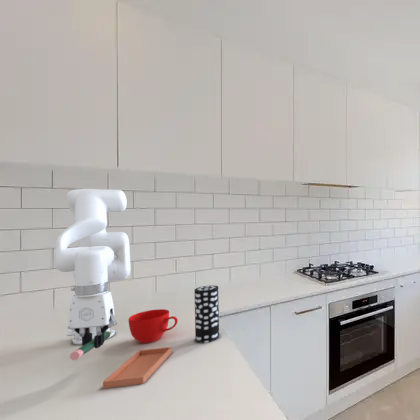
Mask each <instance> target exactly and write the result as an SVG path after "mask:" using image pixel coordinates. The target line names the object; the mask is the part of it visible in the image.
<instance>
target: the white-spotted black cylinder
mask: <svg viewBox="0 0 420 420" xmlns="http://www.w3.org/2000/svg"><path fill="white" fill-rule="evenodd" d="M219 295H220V294H219V286H218V285H203V286H199V287H196V288H194V331H195V332H194V333H195V334H194V335H195V336H194V337H195V338H194V339H195V342H196V343H198V344H206V343H211V342H213V341H216V340H218V339H219V338H220V307H219V306H220V305H219V304H220V302H219V300H220V297H219Z"/></svg>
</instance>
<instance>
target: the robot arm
mask: <svg viewBox="0 0 420 420" xmlns="http://www.w3.org/2000/svg"><path fill="white" fill-rule="evenodd" d="M66 201H67V205H68V208H69V209H70V211H71V213H72V215H73V217H74V223H73V224H71V225H70V226H68V227H67V228H66V229H64V230H63V231H62V232H61V233H60V234H59V236H58V237H57V239H56V241H55V243H54V244H55V245H54V256H53V257H54V258H53V263H54V267H55V269H56V270H57V271H59V272H62V273H68V272H69V273H71V272H72V275H73V279H74V285H73V286H71V287H70V290H71V292H74V294H73V295H72V296H71V298H70V302H69V307H68V308H69V309H68V322H67V323H68V326H67V329H68V330H67V333H66V337H72V336H73V337H74V338H73V339H72V344H74V345H79V346H81V347H82V346H83V345H85V344H86V343H88V342H89V341H91V340H92V339H94V342H95V347H94V349H99V348H100V347H102V346H103V345H104V343H105V340H104V332H106V331H111V334H110V337H109V338H107V339H106V340H108V339H110V338H111V337H113V336H114V335H115V334H116V331H115V329H112V327H114V326H116V325H117V324H118V321H117V320H116V317H115V306H114V299H113V296H112V293H111V291H110V290H109V282H116V281H122V280H126V279H128V278H130V276H131V271H132V268H131V247H130V239H129V235H128V234H127V233H126V232H123V231H107V230H106V228H107V226H108V217H107V215H108V213H122V212H124V211H125V210H126V209H127V205H128V201H127V196H126V193H125V192H124V191H123V190H122V189H111V188H109V189H108V188H107V189H104V188H76V189H72V190H69V191H68V192H67V194H66ZM75 242H77V247H69V246H70V245H71V244H73V243H75Z"/></svg>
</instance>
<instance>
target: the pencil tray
mask: <svg viewBox="0 0 420 420" xmlns="http://www.w3.org/2000/svg"><path fill="white" fill-rule="evenodd" d="M172 353H173V347H172V346H168V347H158V348H148V349H147V348H146V349H139V350H138V351H137V352H136V353H134V354H133V355H132V356H131V357H130V358H129V359H127V360H126V361H125V362H124V363H123V364H122V365H120V367H118V368H117V369H116V370H115V371H114V372H112V373H111V374H110V375H108V377H107V378H105V379H104V380H103V381H102V389H112V388H118V387H128V386H136V385H142V384H144V383H146V381H147V380H148V379H149V378H150V377H151V376H152V375H154V373H155V372H156V371H157V369H159V367H160V366H161V365H162V364H163V363H164V362H165V361H166V360H167V358H168V357H169V356H170V355H171V354H172Z"/></svg>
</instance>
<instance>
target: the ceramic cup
mask: <svg viewBox="0 0 420 420" xmlns="http://www.w3.org/2000/svg"><path fill="white" fill-rule="evenodd" d="M170 320H174V323H173V325H172V326H170V327H169V321H170ZM178 322H179V320H178V317H176V316H172V315H171V316H170V311H169V310H168V309H165V308H163V309H162V308H161V309H160V308H158V309H149V310H145V311H141V312H137V313H135V314H133V315H132V314H131V316H129V317H128V328H129V332H130V334H131V336H132V338H134V340H136V341H137V342H139V343H140V344H150V343H151V344H152V343H155V342H157V341H158V340H160V339H161V337H163V335H164V334H165V333H166V332H168V331H170V330H172V329H174V328H175V327H176V326H177V324H178Z"/></svg>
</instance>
